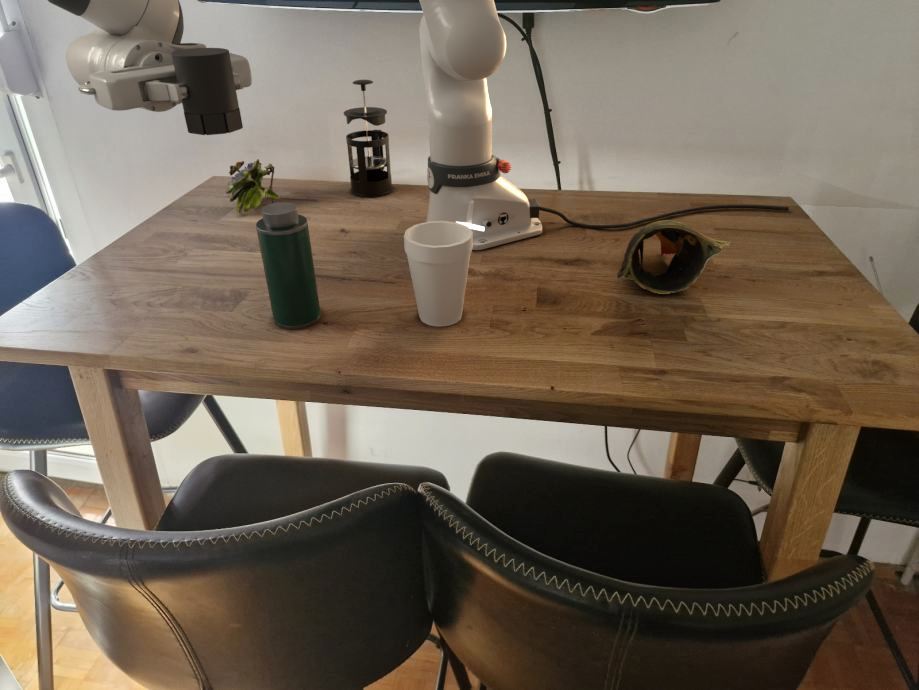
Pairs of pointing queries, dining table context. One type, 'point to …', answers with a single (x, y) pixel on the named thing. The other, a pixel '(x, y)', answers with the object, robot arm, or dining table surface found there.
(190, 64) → the lid
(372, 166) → the french press
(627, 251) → the pot
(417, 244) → the foam cup
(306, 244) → the thermos
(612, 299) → the dining table surface
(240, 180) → the passion flower
